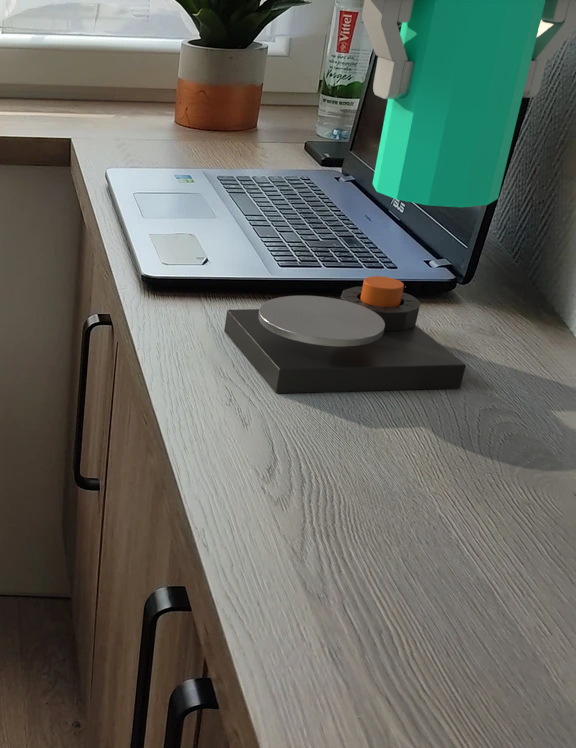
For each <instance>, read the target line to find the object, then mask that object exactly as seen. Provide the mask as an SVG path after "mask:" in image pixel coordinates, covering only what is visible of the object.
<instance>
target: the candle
mask: <svg viewBox="0 0 576 748" xmlns="http://www.w3.org/2000/svg"><path fill="white" fill-rule="evenodd" d="M544 5H545V0H414V1H413V6H412V11H411V16H410V20H409V21H408V22H402V23H401V26H400V31H399V32H400V35H401V38H402V42H403V45H404V48H405V52H406V55H407V58H408V60H412V61H415V66H414V72H413V77H412V82H411V87H410V91H409V94H408V95H407V97H406V98H403V99H387V103H386V109H385V114H384V118H383V125H382V130H381V136H380V141H379V145H378V150H377V151H378V152H377V157H376V162H375V168H374V173H373V179H372V186H373V188H374V190H375V191H376V193H379V194H382V195H384V196H387V197H389V198H392V199H395V200H398V201H402V202H408V203H413V204H419V205H424V206H429V207H430V206H431V207H449V208H469V207H480V206H481V207H482V206H489V205H490V204H492V203H493V202H495V201H497V200H498V199H499V196H500V192H501V187H502V184H503V179H504V175H505V171H506V168H507V162H508V158H509V154H510V150H511V146H512V141H513V137H514V133H515V129H516V125H517V121H518V117H519V116H518V115H519V114H520V108H521V105H522V100H523V98H522V96H523V92H524V88H525V84H526V80H527V75H528V71H529V67H530V63H531V59H532V55H533V50H534V46H535V42H536V38H537V34H538V30H539V25H540V21H541V17H542V13H543V9H544Z"/></svg>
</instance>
